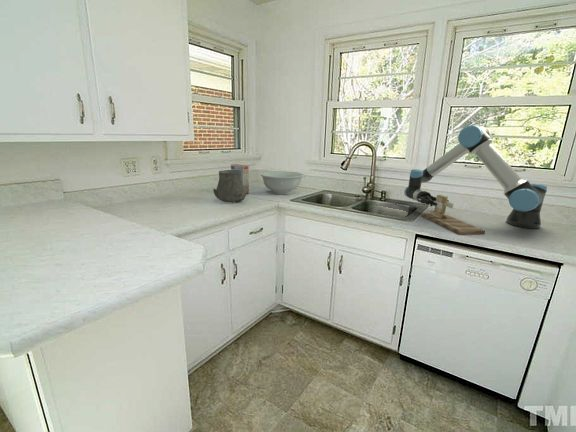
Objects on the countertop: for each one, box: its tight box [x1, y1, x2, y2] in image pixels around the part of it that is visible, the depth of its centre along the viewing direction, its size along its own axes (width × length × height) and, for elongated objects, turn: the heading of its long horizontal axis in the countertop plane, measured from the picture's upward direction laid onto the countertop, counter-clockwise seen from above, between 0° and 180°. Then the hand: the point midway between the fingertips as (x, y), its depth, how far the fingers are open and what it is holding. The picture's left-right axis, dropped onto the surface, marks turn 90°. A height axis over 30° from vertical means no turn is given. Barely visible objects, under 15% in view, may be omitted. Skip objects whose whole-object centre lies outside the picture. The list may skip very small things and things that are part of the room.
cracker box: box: [230, 163, 250, 195], centre depth 216 cm, size 14×6×21 cm, turn 49°
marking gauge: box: [429, 194, 449, 218], centre depth 165 cm, size 5×11×12 cm, turn 9°
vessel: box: [212, 169, 247, 203], centre depth 190 cm, size 22×22×20 cm
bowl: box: [260, 170, 304, 195], centre depth 222 cm, size 32×32×15 cm
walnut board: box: [420, 212, 486, 236], centre depth 158 cm, size 32×14×2 cm, turn 9°
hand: (447, 205), depth 161 cm, fingers open, 6 cm apart
